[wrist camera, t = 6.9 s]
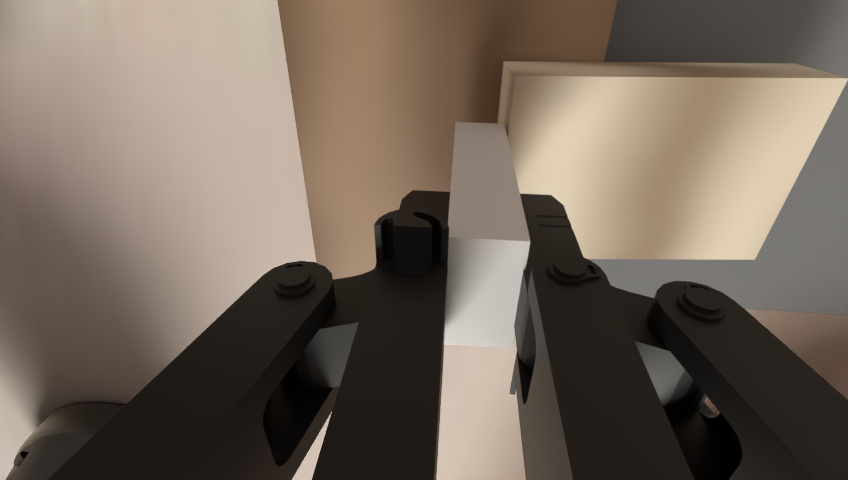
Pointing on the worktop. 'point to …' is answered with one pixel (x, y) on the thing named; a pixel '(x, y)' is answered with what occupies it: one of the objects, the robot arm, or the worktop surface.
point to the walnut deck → (407, 96)
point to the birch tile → (664, 149)
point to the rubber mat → (818, 179)
